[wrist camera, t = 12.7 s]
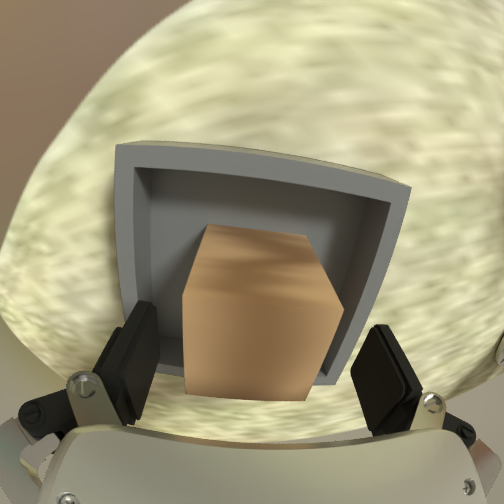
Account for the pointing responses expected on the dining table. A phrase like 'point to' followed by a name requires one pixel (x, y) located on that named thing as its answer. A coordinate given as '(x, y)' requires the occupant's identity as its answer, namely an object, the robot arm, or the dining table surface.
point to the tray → (253, 217)
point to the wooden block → (256, 316)
